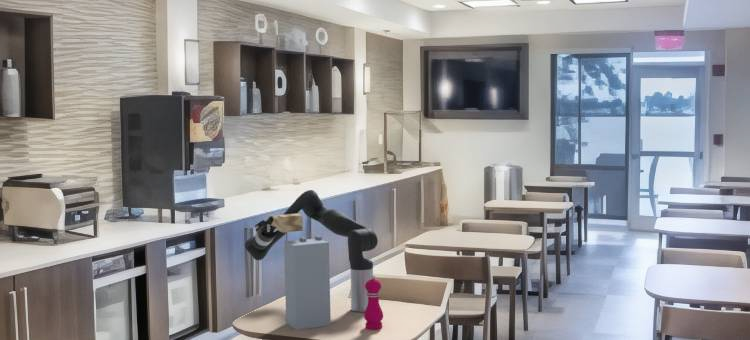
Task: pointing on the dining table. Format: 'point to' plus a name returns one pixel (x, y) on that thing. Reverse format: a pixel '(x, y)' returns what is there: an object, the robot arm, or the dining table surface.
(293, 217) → the t key
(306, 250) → the stand
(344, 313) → the dining table surface
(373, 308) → the pepper mill
